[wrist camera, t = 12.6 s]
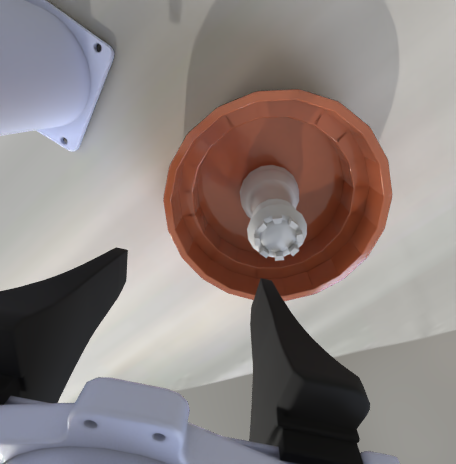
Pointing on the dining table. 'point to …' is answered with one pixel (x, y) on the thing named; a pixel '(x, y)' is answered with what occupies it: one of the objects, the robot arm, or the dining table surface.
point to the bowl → (308, 180)
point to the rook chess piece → (273, 212)
